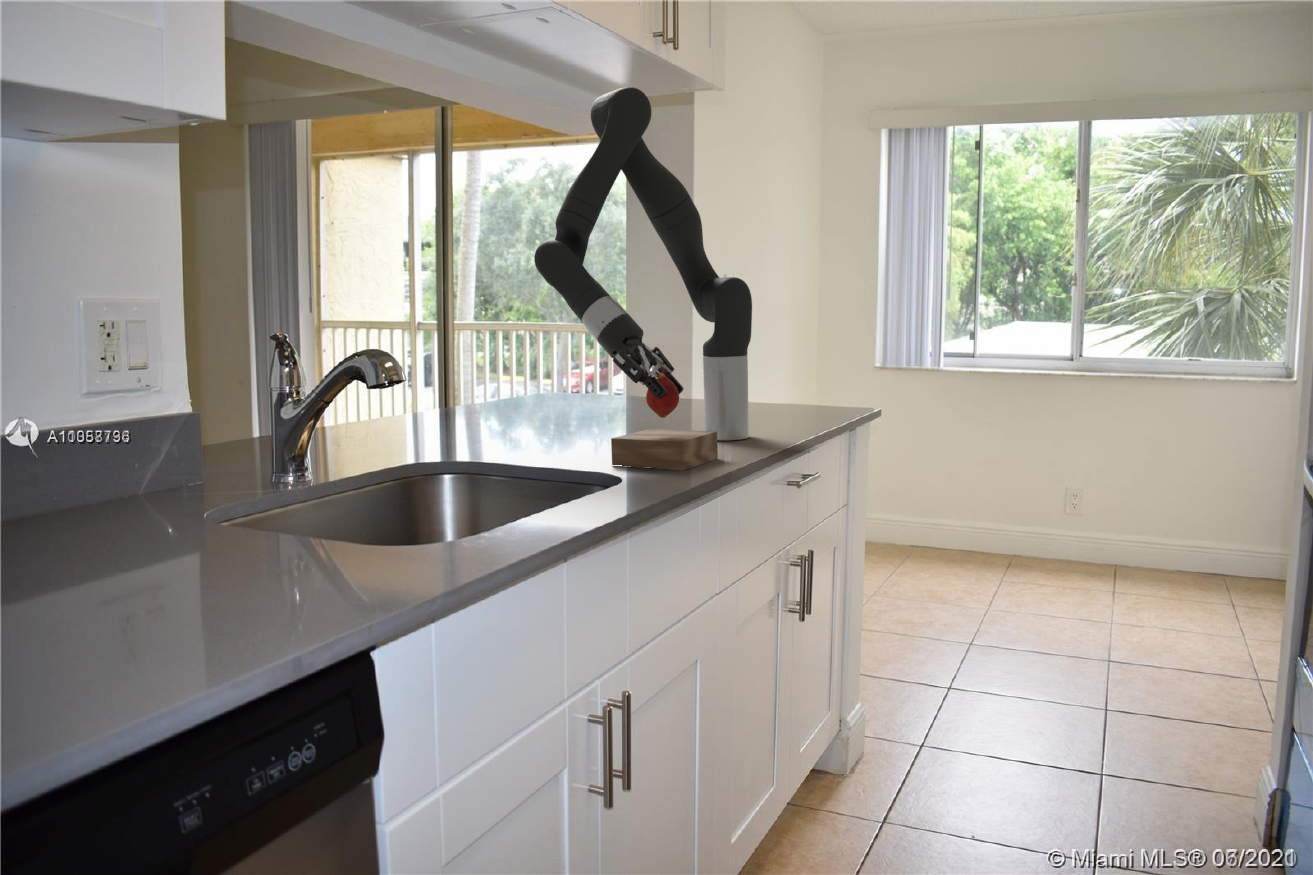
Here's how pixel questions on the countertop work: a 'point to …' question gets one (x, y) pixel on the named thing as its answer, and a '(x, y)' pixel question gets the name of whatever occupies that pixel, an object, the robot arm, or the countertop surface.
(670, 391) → the onion
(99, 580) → the countertop surface
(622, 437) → the walnut base
